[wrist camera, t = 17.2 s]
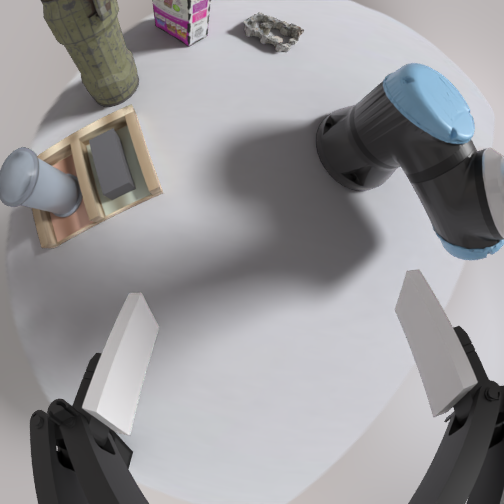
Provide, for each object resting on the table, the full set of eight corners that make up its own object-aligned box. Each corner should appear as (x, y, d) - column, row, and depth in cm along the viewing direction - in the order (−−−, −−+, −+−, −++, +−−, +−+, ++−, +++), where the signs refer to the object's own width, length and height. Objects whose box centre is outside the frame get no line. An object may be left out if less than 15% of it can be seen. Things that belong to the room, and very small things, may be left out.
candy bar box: (209, 35, 38) (216, -27, 22) (189, 47, 38) (189, -17, 22) (173, 15, 37) (172, -42, 21) (154, 26, 36) (147, -32, 20)
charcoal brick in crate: (120, 138, 35) (112, 128, 31) (136, 188, 36) (129, 182, 32) (97, 149, 35) (88, 140, 31) (112, 200, 35) (103, 195, 31)
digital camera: (138, 451, 37) (132, 474, 30) (118, 456, 36) (111, 478, 29) (104, 412, 36) (93, 433, 29) (85, 418, 35) (72, 438, 28)
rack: (136, 115, 37) (131, 104, 33) (163, 192, 38) (159, 186, 34) (36, 171, 33) (24, 165, 29) (54, 248, 34) (41, 247, 31)
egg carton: (300, 42, 42) (307, 30, 38) (282, 57, 41) (288, 45, 37) (258, 18, 40) (262, 6, 36) (237, 32, 40) (240, 19, 36)
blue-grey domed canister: (78, 167, 34) (33, 136, 20) (87, 206, 34) (40, 189, 21) (45, 185, 33) (-5, 165, 19) (54, 224, 33) (1, 216, 20)
